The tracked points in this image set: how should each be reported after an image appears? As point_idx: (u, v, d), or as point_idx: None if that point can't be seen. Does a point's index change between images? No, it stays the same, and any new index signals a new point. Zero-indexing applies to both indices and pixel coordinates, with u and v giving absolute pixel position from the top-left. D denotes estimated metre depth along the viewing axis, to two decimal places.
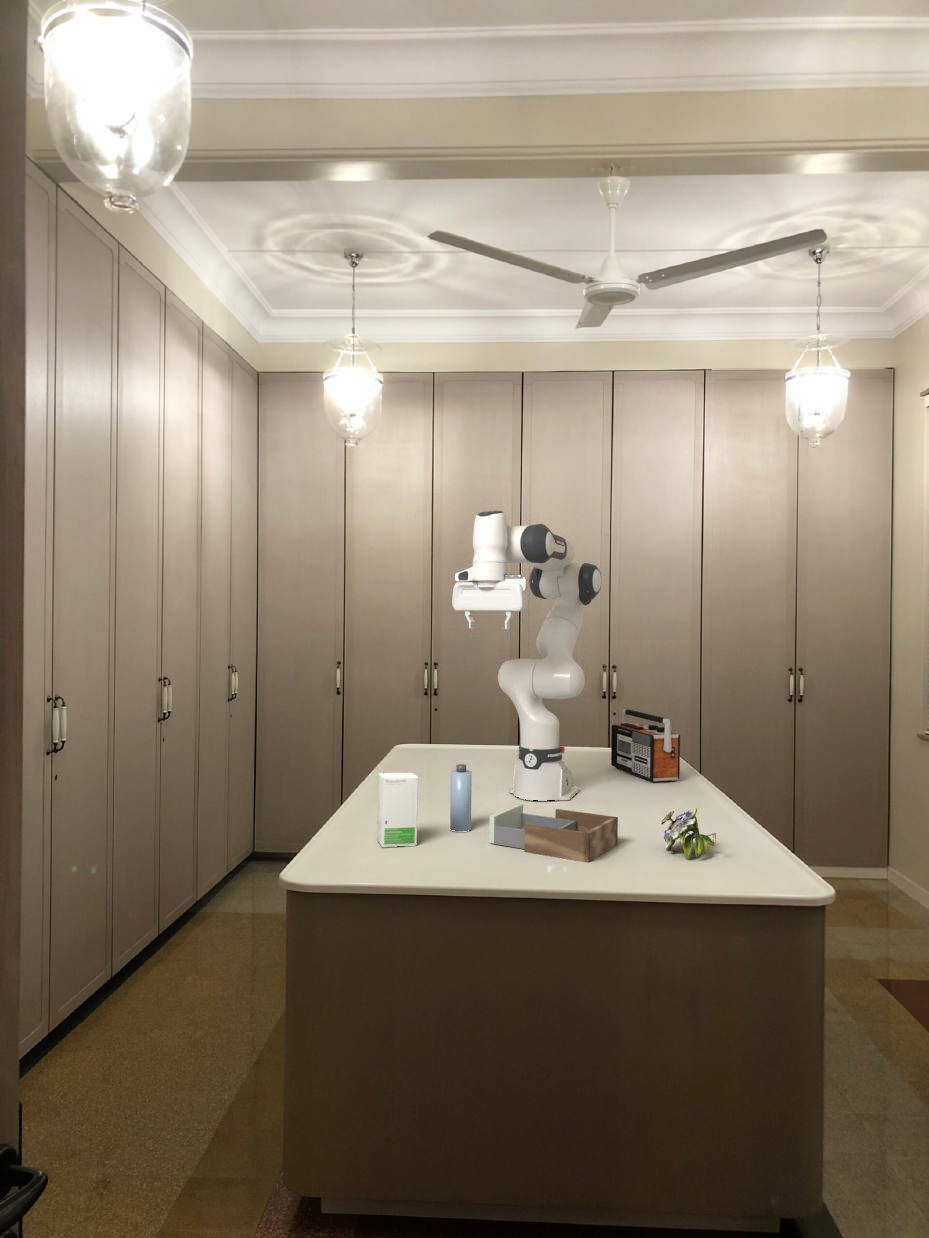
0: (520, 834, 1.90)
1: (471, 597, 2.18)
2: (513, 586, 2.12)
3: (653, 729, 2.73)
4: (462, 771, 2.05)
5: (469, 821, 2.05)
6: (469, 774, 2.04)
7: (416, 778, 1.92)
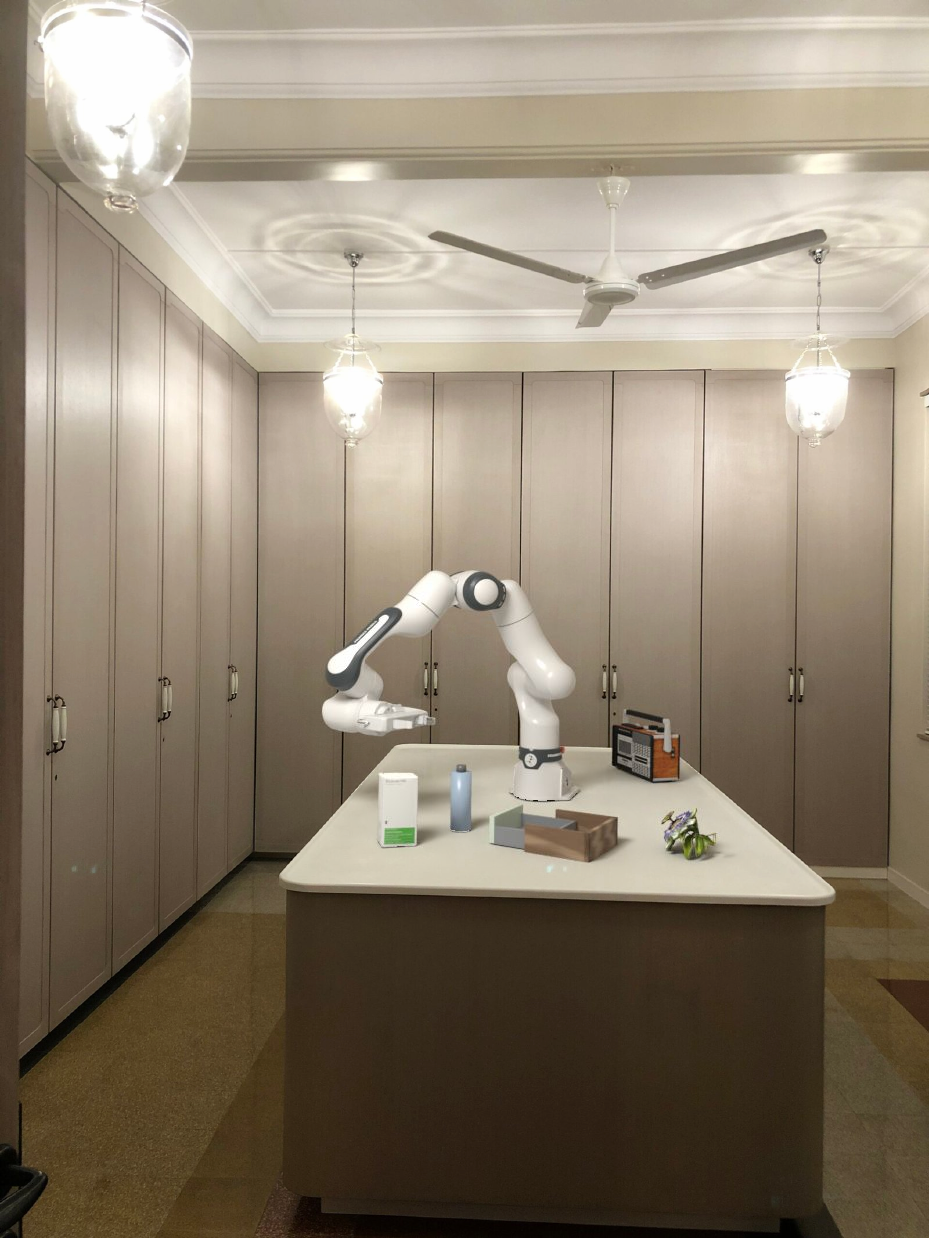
0: (520, 834, 1.90)
1: None
2: None
3: (653, 729, 2.73)
4: (462, 771, 2.05)
5: (469, 821, 2.05)
6: (469, 774, 2.04)
7: (416, 778, 1.92)
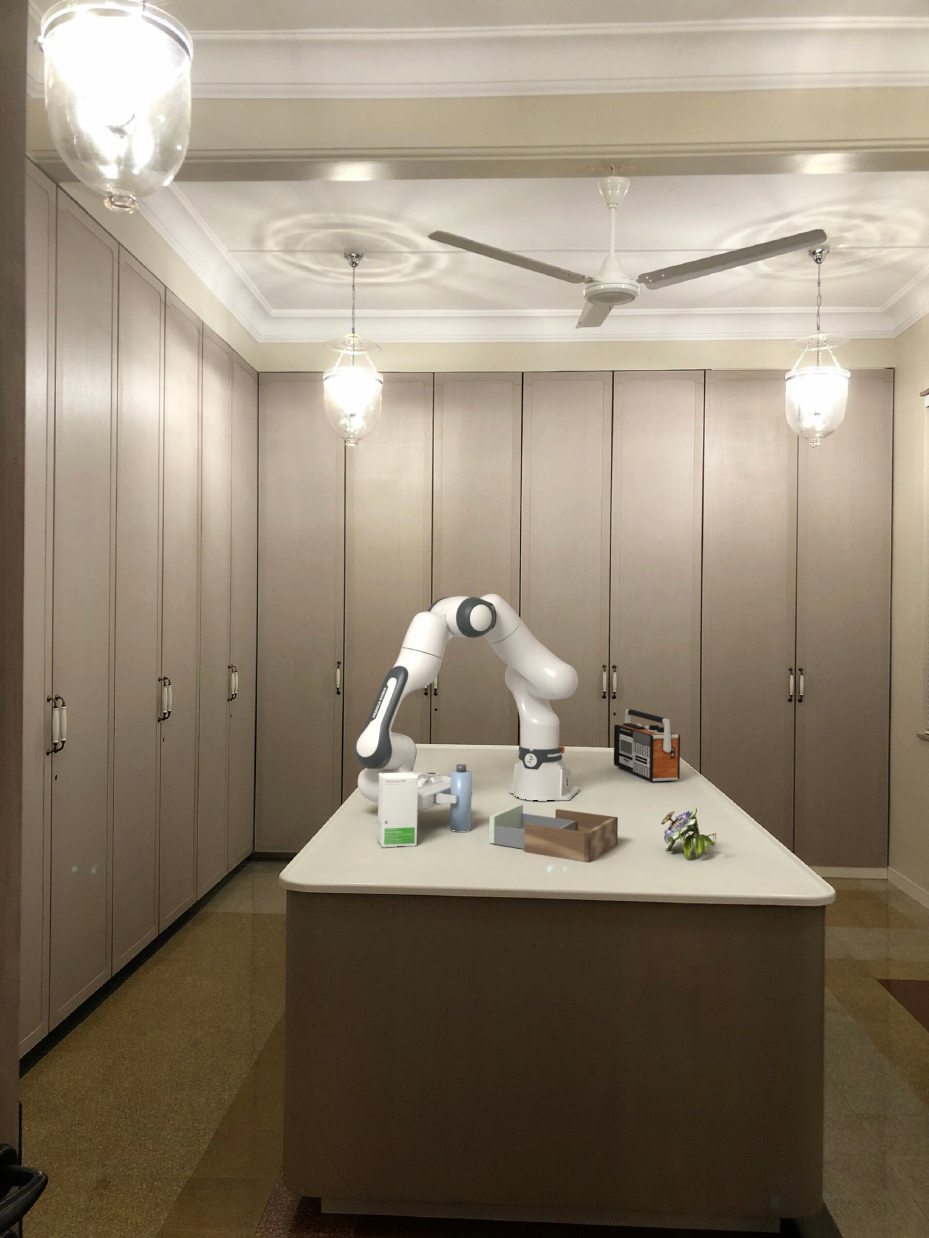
0: (520, 834, 1.90)
1: None
2: None
3: (654, 729, 2.73)
4: (462, 771, 2.05)
5: (469, 821, 2.05)
6: (469, 774, 2.04)
7: (416, 778, 1.92)
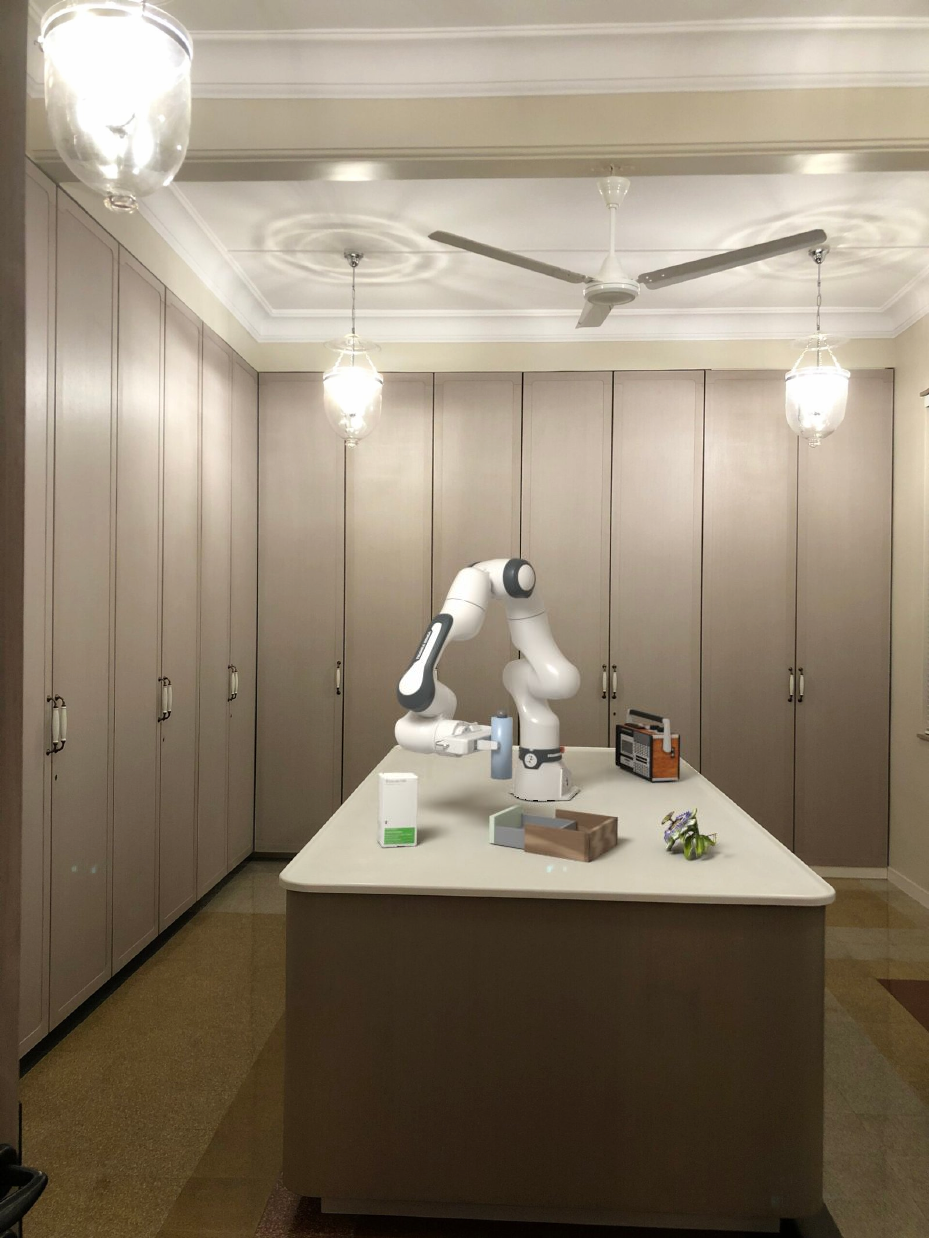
0: (520, 834, 1.90)
1: None
2: None
3: (654, 729, 2.73)
4: (503, 717, 1.99)
5: (510, 768, 1.99)
6: (510, 720, 1.99)
7: (416, 778, 1.92)
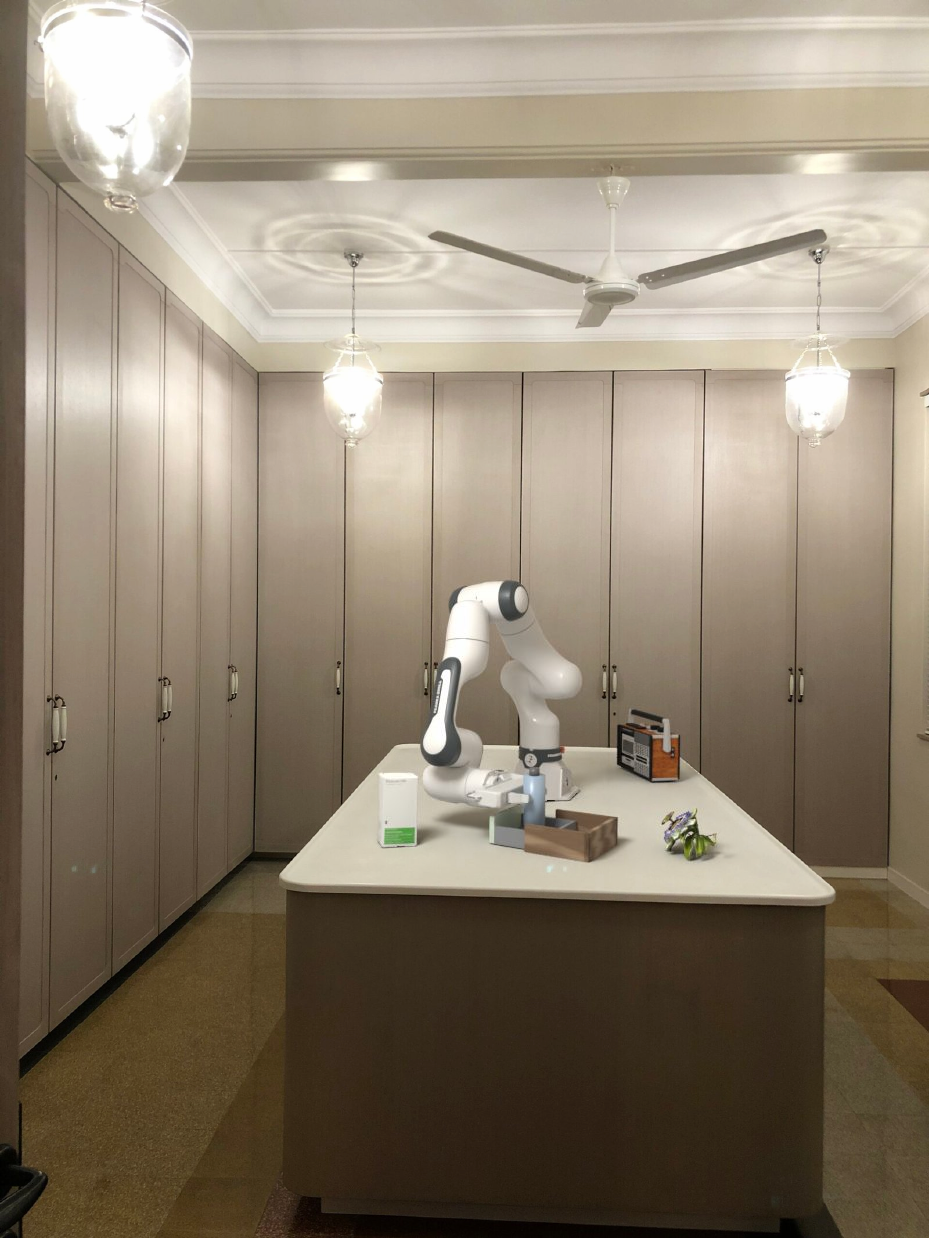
0: (520, 834, 1.90)
1: None
2: None
3: (655, 729, 2.73)
4: (536, 775, 1.95)
5: None
6: (543, 778, 1.94)
7: (416, 778, 1.92)
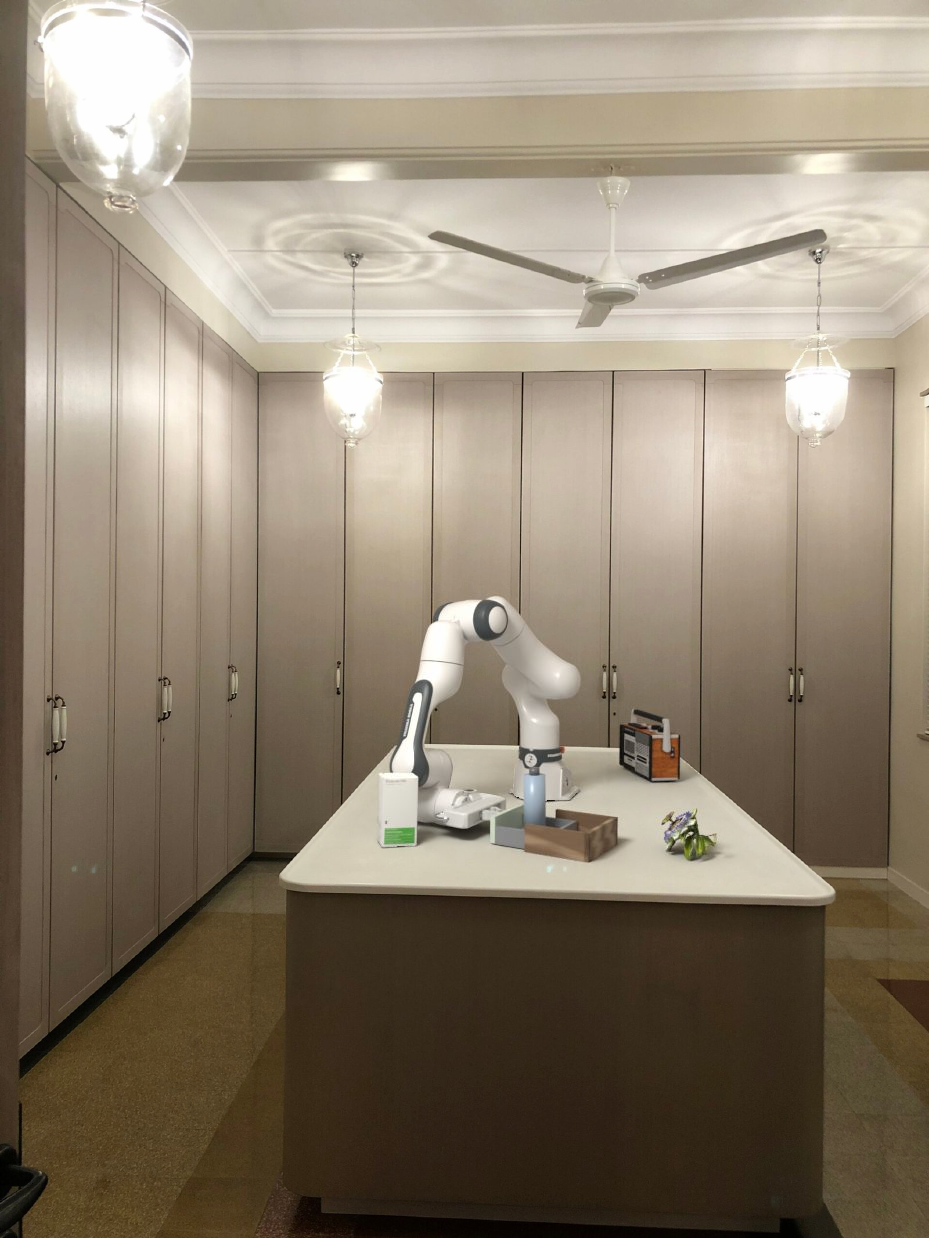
0: (521, 834, 1.90)
1: None
2: None
3: (655, 729, 2.73)
4: (536, 774, 1.95)
5: None
6: (543, 777, 1.95)
7: (416, 778, 1.92)
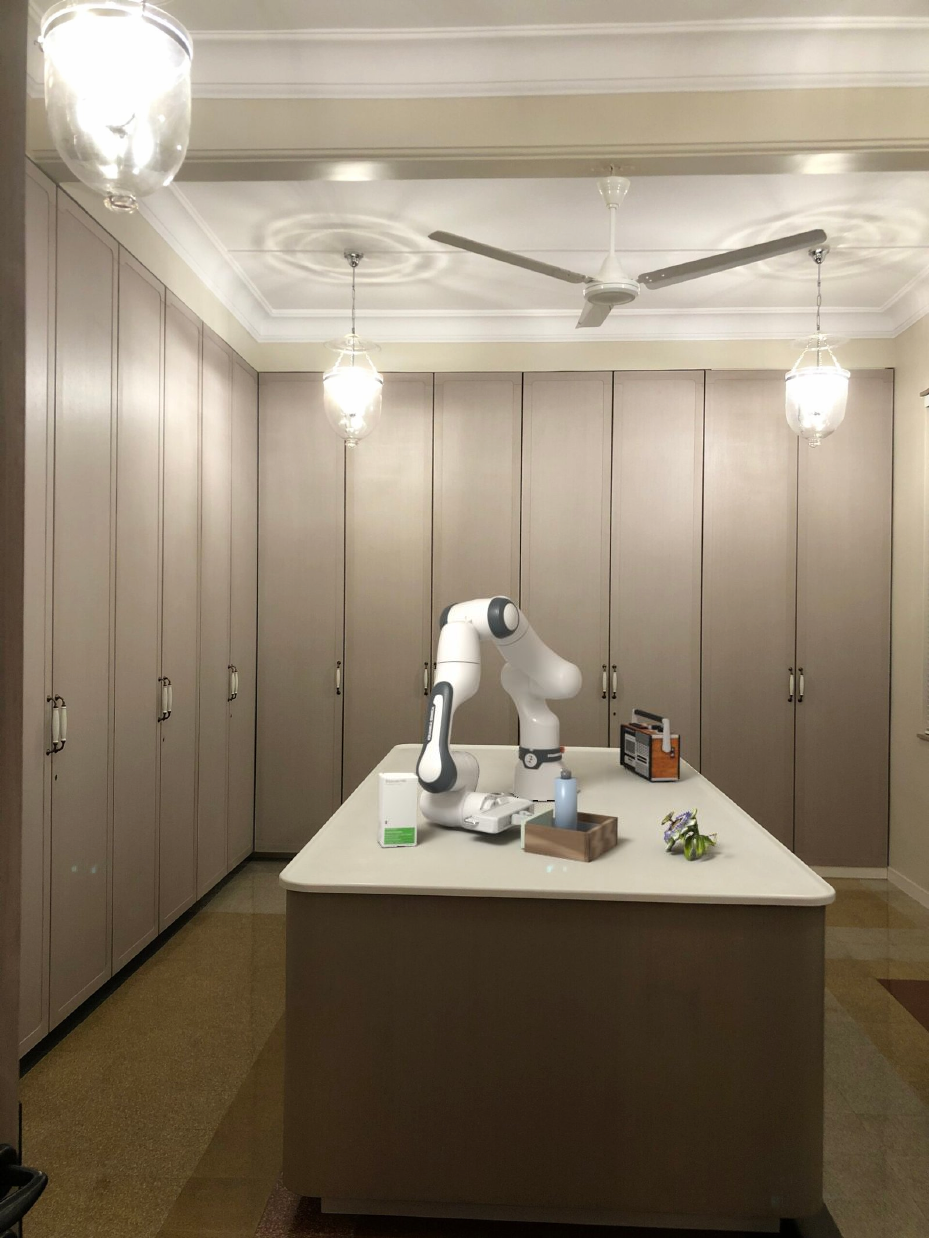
0: None
1: None
2: None
3: (655, 729, 2.73)
4: (568, 778, 1.91)
5: None
6: (575, 781, 1.91)
7: (416, 778, 1.92)
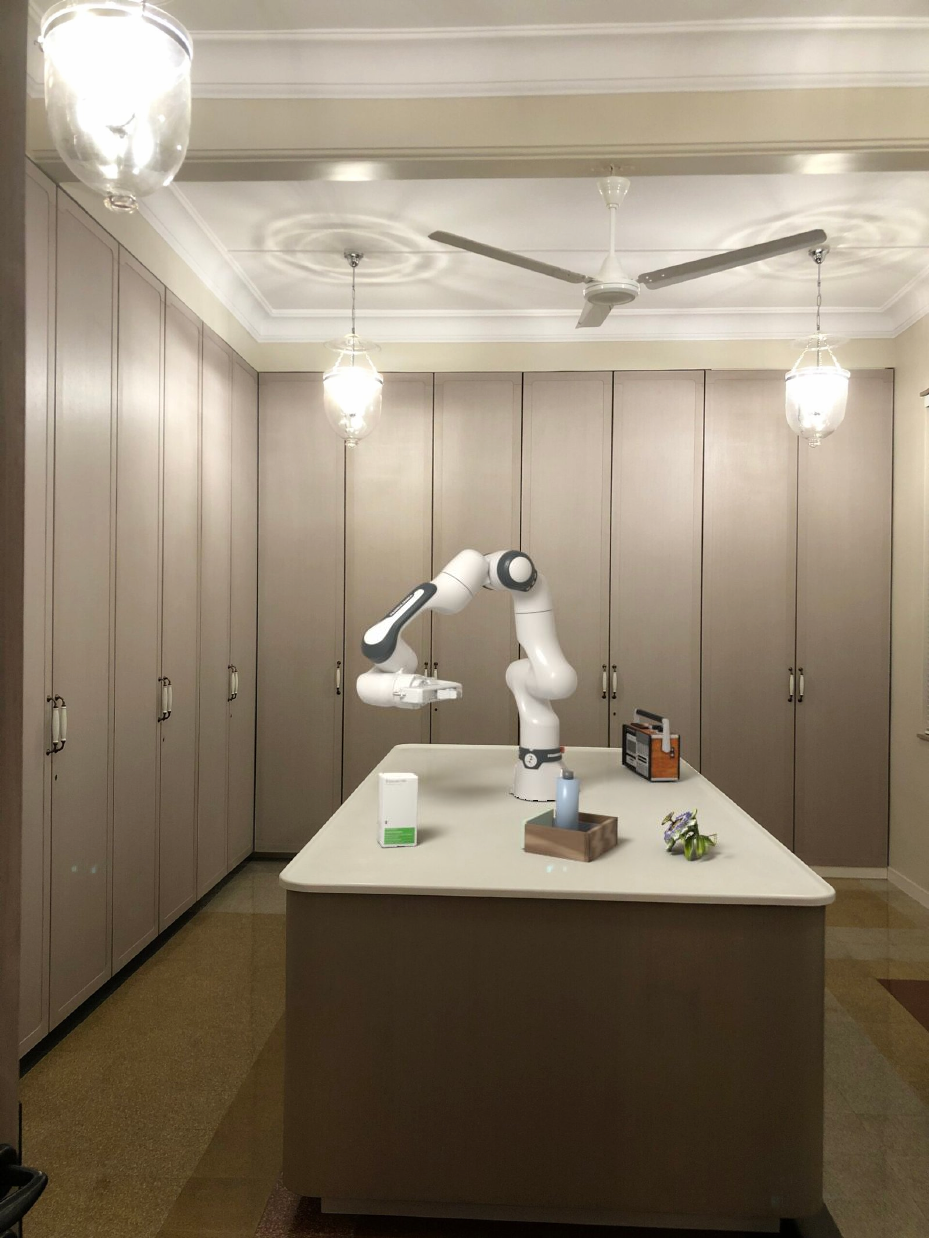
0: None
1: None
2: None
3: (656, 729, 2.73)
4: (570, 778, 1.91)
5: None
6: (577, 781, 1.91)
7: (416, 778, 1.92)
